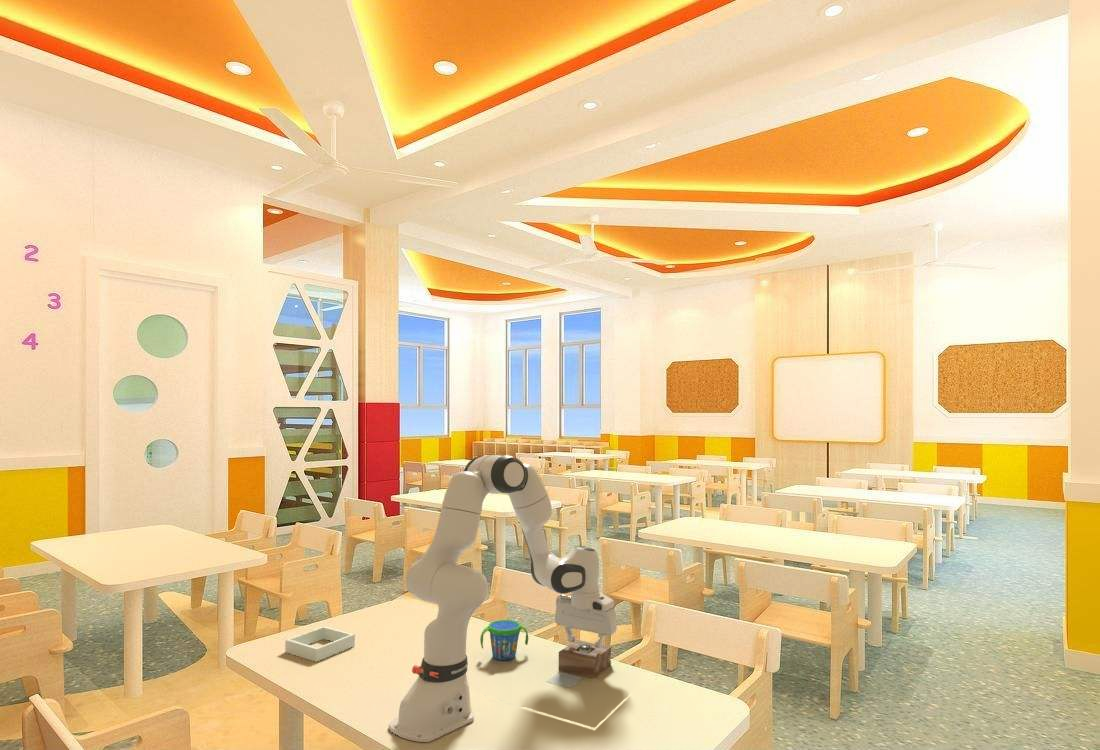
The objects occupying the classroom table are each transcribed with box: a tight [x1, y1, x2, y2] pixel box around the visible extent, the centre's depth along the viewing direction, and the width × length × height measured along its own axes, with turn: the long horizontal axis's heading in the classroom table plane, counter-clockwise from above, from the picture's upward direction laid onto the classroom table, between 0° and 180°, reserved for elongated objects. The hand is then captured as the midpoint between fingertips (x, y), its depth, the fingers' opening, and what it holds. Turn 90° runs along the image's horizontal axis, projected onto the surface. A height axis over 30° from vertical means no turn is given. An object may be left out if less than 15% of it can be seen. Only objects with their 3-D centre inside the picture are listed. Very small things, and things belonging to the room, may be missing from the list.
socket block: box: [558, 639, 612, 680], centre depth 194 cm, size 12×12×6 cm
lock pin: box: [579, 644, 591, 654], centre depth 194 cm, size 4×4×7 cm
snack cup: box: [479, 619, 529, 661], centre depth 203 cm, size 16×10×10 cm
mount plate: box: [545, 671, 583, 689], centre depth 185 cm, size 8×8×1 cm
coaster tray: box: [284, 625, 356, 663], centre depth 209 cm, size 16×16×4 cm
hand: (584, 644), depth 194 cm, fingers open, 8 cm apart
